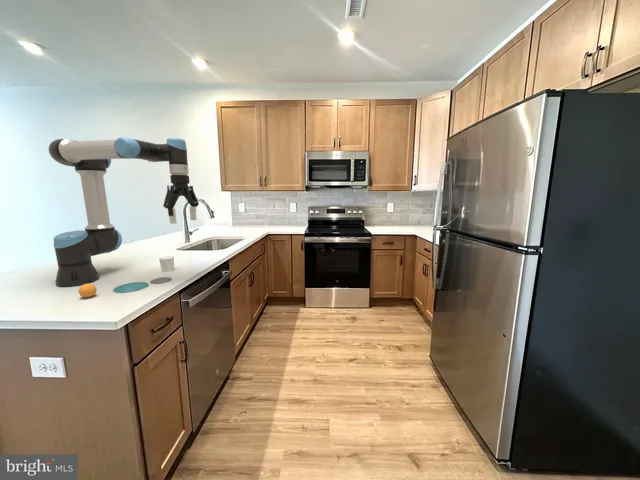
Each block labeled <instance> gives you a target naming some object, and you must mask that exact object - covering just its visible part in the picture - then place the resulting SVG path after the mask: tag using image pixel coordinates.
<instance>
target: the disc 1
mask: <svg viewBox="0 0 640 480" xmlns="http://www.w3.org/2000/svg"><path fill="white" fill-rule="evenodd" d="M148 287H149V282H146V281H135V282H128V283H124V284H121V285H118V286H115V287H114V288H113V289H112V292H114V293H118V294H120V293H121V294H122V293H123V294H125V293H132V292H137V291H140V290H143V289H146V288H148Z"/></svg>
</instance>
